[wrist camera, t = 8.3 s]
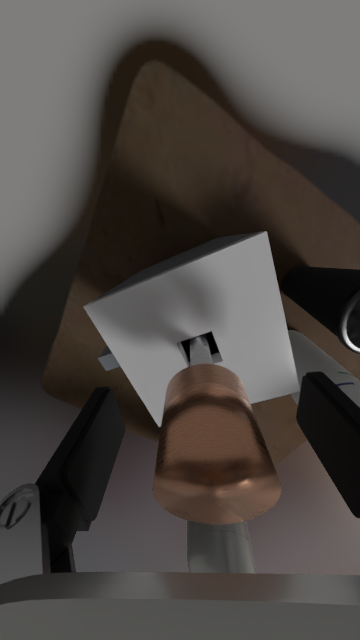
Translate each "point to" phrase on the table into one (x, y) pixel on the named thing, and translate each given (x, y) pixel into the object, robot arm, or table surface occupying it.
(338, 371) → the cylindrical container
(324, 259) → the table surface
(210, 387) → the copper piston
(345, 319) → the drinking cup
